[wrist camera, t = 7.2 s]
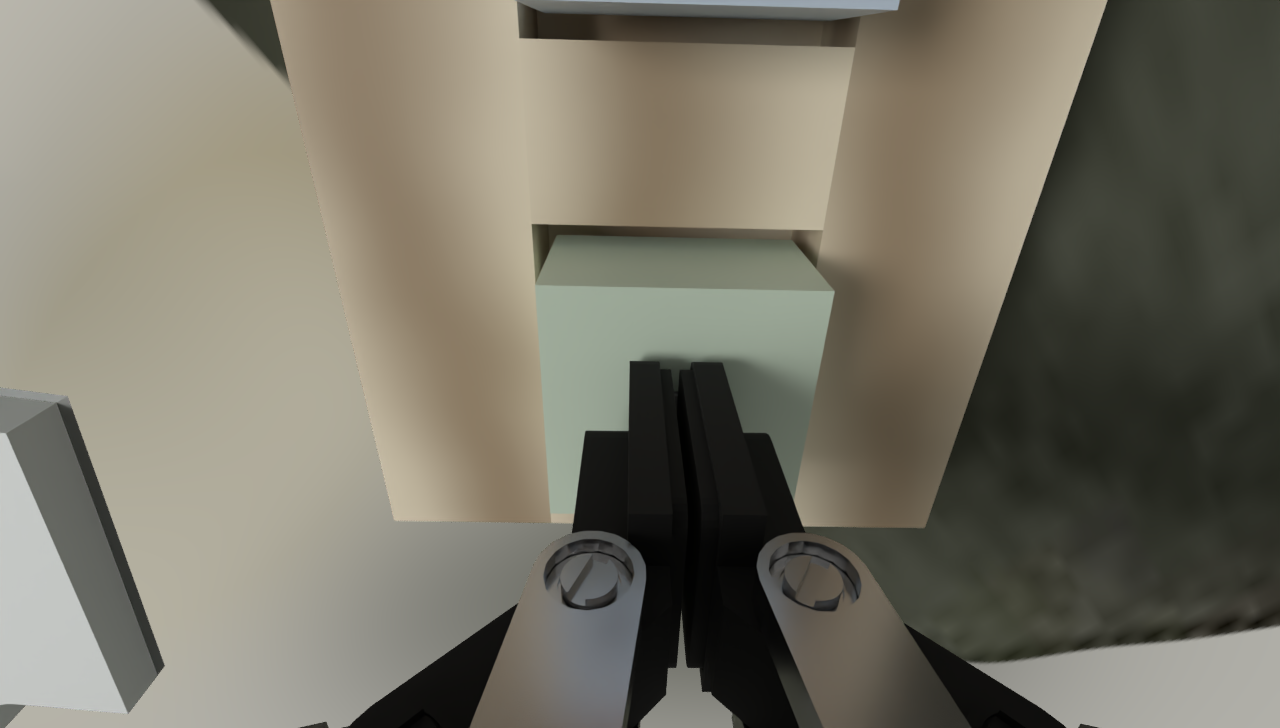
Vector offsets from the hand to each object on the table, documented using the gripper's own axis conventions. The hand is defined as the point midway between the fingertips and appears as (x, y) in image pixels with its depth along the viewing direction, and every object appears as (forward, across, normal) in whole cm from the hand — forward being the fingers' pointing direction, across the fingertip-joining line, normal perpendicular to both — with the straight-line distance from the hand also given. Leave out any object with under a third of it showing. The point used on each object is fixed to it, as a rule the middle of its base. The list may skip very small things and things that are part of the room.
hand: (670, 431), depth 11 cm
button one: (+3, 0, 0) cm, 3 cm away
